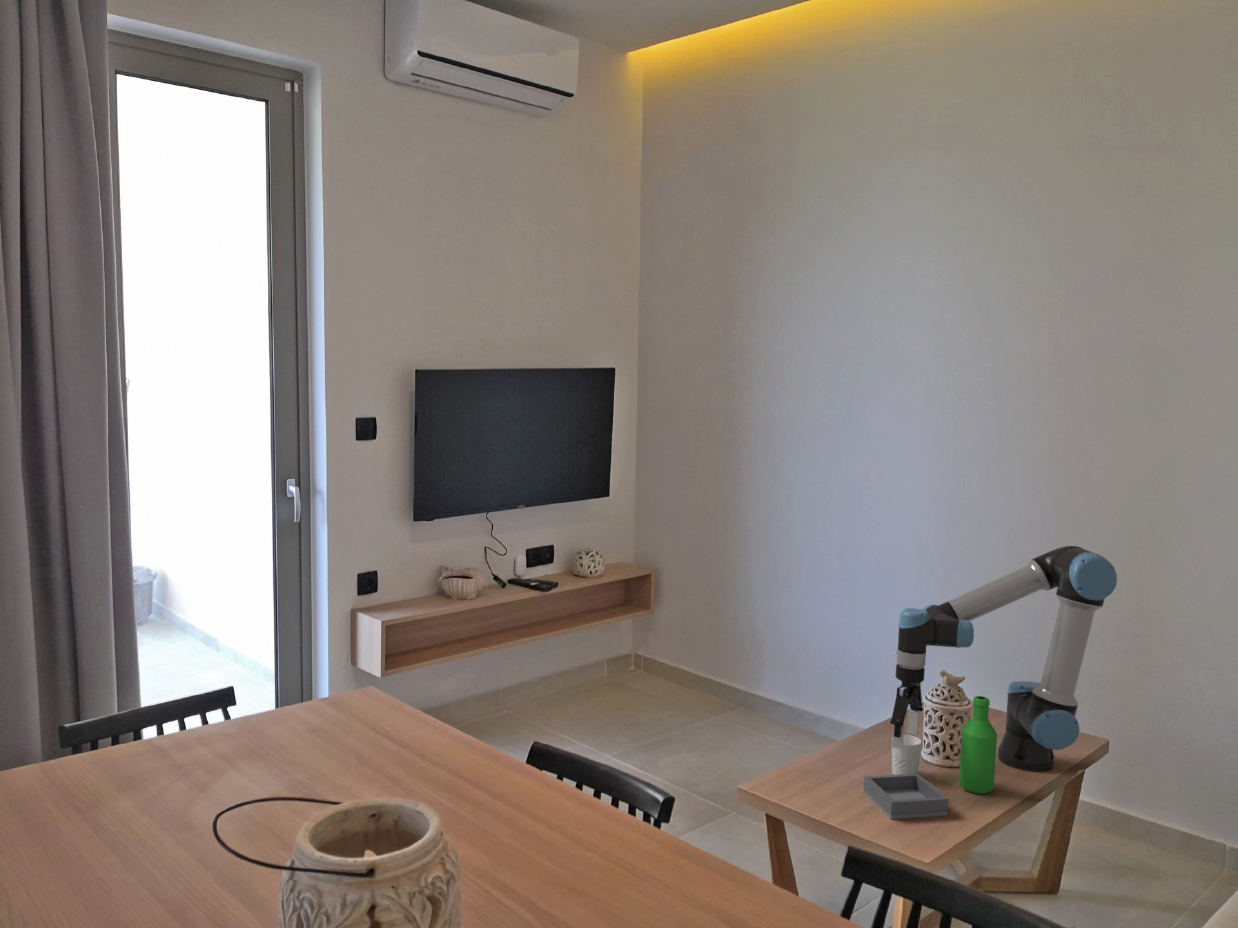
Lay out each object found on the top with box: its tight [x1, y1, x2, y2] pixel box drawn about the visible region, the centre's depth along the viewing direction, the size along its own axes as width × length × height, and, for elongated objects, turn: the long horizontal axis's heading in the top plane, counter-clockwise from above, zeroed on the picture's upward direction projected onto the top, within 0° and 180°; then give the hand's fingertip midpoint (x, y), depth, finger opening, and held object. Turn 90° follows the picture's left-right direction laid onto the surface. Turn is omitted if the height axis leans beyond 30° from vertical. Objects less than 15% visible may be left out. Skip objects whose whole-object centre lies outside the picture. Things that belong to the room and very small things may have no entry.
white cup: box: [891, 733, 922, 775], centre depth 261 cm, size 8×8×10 cm
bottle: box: [958, 695, 998, 795], centre depth 253 cm, size 9×9×25 cm
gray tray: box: [863, 773, 950, 820], centre depth 243 cm, size 15×15×4 cm
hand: (904, 740), depth 261 cm, fingers open, 13 cm apart
